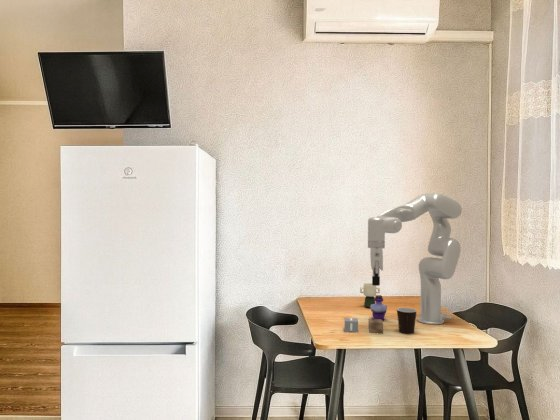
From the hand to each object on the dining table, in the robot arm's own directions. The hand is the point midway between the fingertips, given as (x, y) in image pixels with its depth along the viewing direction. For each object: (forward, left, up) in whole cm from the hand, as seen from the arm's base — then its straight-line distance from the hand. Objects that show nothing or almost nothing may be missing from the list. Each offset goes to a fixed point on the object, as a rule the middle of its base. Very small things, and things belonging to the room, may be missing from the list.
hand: (375, 285), depth 202 cm
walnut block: (0, 0, -21) cm, 21 cm away
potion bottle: (-3, -22, -21) cm, 31 cm away
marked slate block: (+11, 0, -21) cm, 24 cm away
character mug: (0, -48, -21) cm, 53 cm away
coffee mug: (-13, 0, -21) cm, 25 cm away
